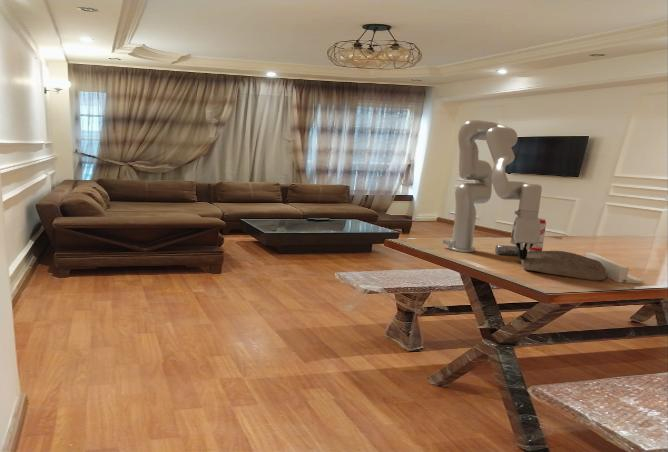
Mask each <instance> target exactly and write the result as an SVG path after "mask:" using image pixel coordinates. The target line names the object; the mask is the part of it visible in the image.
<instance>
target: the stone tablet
mask: <svg viewBox="0 0 668 452" xmlns="http://www.w3.org/2000/svg"><path fill="white" fill-rule="evenodd" d="M529 251H530V250H529ZM529 251H527V257H526V259H525V260H521V259H520V262H521V267H523V269H524V270H526V271H530V272H531V271H533V272H537V273H542V274H547V275H548V274H549V275H557V276H563V277H569V278H575V279H579V280H586V281H587V280H588V281H602V280H605V279H606V278H607V277H606V276H607V273H606V270H605V267H604V266H603V265H602V263H601V262H599V261H597V260H594V259H591V258H587V257H586V256H585V255H582V254H581V255H580V254H577V253H574V252H569V251H564V250H563V251H562V250H542V251H530V252H529Z"/></svg>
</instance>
